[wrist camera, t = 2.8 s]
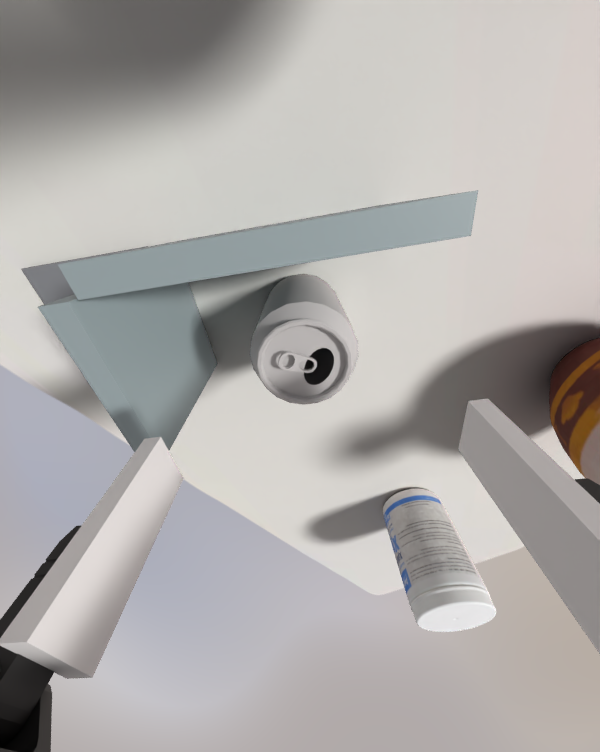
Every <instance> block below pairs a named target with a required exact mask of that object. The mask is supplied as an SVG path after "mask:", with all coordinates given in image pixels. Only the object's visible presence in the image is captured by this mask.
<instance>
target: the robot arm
mask: <svg viewBox="0 0 600 752" xmlns="http://www.w3.org/2000/svg"><path fill="white" fill-rule="evenodd" d="M458 450H459V452H460V453H461V454H462V456H463V457H464V459H465V460H466V462H467V463H468V465H469V466H470V467H471V469H472V470H473V472H474V473H475V475H476V476H477V478H478V479H479V480H480V482H481V483H482V485H483V486H484V488H485V489H486V491H487V492H488V493H489V495H490V496H491V498H492V499H493V501H494V502H495V504H496V505H497V506H498V508H499V509H500V511H501V512H502V514H503V515H504V517H505V518H506V519H507V521H508V522H509V524H510V525H511V527H512V528H513V529H514V531H515V532H516V534H517V535H518V537H519V538H520V540H521V541H522V542H523V544H524V545H525V547H526V548H527V550H528V551H529V553H530V554H531V555H532V557H533V558H534V560H535V561H536V563H537V564H538V566H539V567H540V568H541V570H542V571H543V573H544V574H545V576H546V577H547V578H548V580H549V581H550V583H551V584H552V586H553V587H554V589H555V590H556V592H557V593H558V594H559V596H560V597H561V599H562V600H563V602H564V603H565V604H566V606H567V607H568V609H569V610H570V612H571V613H572V615H573V616H574V617H575V619H576V620H577V622H578V623H579V624H580V626H581V627H582V629H583V631H584V632H585V633H586V635H587V636H588V638H589V639H590V641H591V642H592V644H593V645H594V646H595V648H596V649H597V651H598V652H599V654H600V485H599V484H597V483H595V482H594V481H592V480H590V479H588V478H586V479H575V480H574V479H573V478H572V477H571V476H570V475H569V474H568V473H567V472H565V471H564V470H563V469H562V468H561V467H560V466H559V465H558V464H557V463H556V462H555V461H554V460H553V459H552V458H551V457H550V456H548V455H547V454H546V453H545V452H544V451H543V450H542V449H541V448H540V447H539V446H538V445H537V444H536V443H535V442H534V441H533V440H531V439H530V438H529V437H528V436H527V435H526V434H525V433H524V432H523V431H522V430H521V429H520V428H519V427H518V426H517V425H516V424H514V423H513V422H512V421H511V420H510V419H509V418H508V417H507V416H506V415H505V414H504V413H503V412H502V411H501V410H500V409H499V408H497V407H496V406H495V405H494V404H493V403H492V402H491V401H490V400H489V399H480V400H471V401H468V404H467V409H466V414H465V419H464V424H463V429H462V434H461V438H460V443H459V448H458ZM183 479H184V478H183V476H182V474H181V472H180V470H179V468H178V467H177V465H176V463H175V461H174V459H173V458H172V456H171V454H170V452H169V450H168V449H167V447H166V445H165V443H164V441H163V440H162V438H161V437H154V438H146V439H144V440H143V442H142V443H141V444H140V446H139V447H138V449H137V450H136V451H135V453H134V454H133V456H132V457H131V458H130V460H129V461H128V462H127V464H126V465H125V467H124V468H123V469H122V471H121V472H120V473H119V475H118V476H117V478H116V479H115V480H114V482H113V483H112V485H111V486H110V487H109V489H108V490H107V491H106V493H105V494H104V496H103V497H102V498H101V500H100V501H99V502H98V504H97V505H96V507H95V508H94V509H93V511H92V512H91V513H90V515H89V516H88V518H87V519H86V520H85V522H84V523H83V525H82V526H76V527H75V528H74V529H73V530H72V531H70V533H68V534H67V535H66V536H65V537H64V538H63V539H62V540H61V541H60V542H59V543H58V545H57V546H56V547H55V548H54V550H53V551H52V552H51V554H50V555H49V556H48V558H47V559H46V562H45V563H43V564H42V565H41V567H40V568H39V570H38V571H37V572H36V573H35V577H34V578H33V579H31V580H30V581H29V583H28V584H27V585H26V587H25V588H24V589H23V591H22V592H21V593H20V595H19V596H18V597H17V599H16V600H15V601H14V602H13V604H12V605H11V606H10V608H9V609H8V610H7V612H6V613H5V614H4V616H3V617H2V618H1V620H0V752H50V751H51V749H50V748H51V711H52V710H51V709H52V692H51V687H50V685H49V684H48V682H49V681H50V678H51V677H52V675H53V673H54V672H55V673H57V674H59V675H61V676H63V677H65V678H67V679H68V678H89V677H90V678H91V677H93V675H94V673H95V670H96V668H97V666H98V664H99V662H100V660H101V658H102V655H103V653H104V651H105V649H106V647H107V644H108V642H109V640H110V638H111V636H112V634H113V631H114V629H115V627H116V625H117V622H118V620H119V618H120V616H121V614H122V612H123V609H124V607H125V605H126V603H127V601H128V598H129V596H130V594H131V592H132V590H133V588H134V586H135V583H136V581H137V579H138V577H139V575H140V572H141V570H142V568H143V566H144V564H145V561H146V559H147V557H148V555H149V553H150V551H151V548H152V546H153V544H154V542H155V540H156V537H157V535H158V533H159V531H160V529H161V527H162V525H163V522H164V520H165V518H166V516H167V514H168V511H169V509H170V507H171V505H172V503H173V500H174V498H175V496H176V494H177V492H178V490H179V487H180V485H181V483H182V481H183Z"/></svg>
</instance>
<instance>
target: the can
mask: <svg viewBox="0 0 600 752" xmlns="http://www.w3.org/2000/svg"><path fill="white" fill-rule="evenodd" d="M250 357H251V361H252V364H253V368H254V370H255V372H256V374H257V375H258V377H259V378H260V380H261V381H262V382H263V384H264V385H265V387H266V388H267V389H268V390H269V391H270V392H271V393H273V394H274V395H275V396H276V397H278V398H280V399H283V400H285V401H287V402H290V403H297V404H312V403H318V402H321V401H323V400H326V399H329V398H331V397H332V396H333V395H335V394H336V393H337V392H339V391H340V390H341V389H342V388H343V386H344V385H345V384H346V382H347V381H348V380H349V377H350V375H351V374H352V372H353V371H354V368H355V365H356V362H357V359H358V340H357V338H356V335H355V333H354V330H353V328H352V325H351V323H350V321H349V319H348V317H347V315H346V313H345V311H344V309H343V307H342V305H341V303H340V301H339V299H338V297H337V295H336V293H335V291H334V290H333V289H332V288H331V286H330V285H329V284H328V283H327V282H325V281H324V280H322V279H320V278H319V277H317V276H313V275H308V274H299V275H292V276H289V277H287V278H285V279H283V280H281V281H280V282H279V283H278V284H277V285H276V286H275V287H274V288H273V289H272V290H271V292H270V294H269V296H268V298H267V301H266V303H265V306H264V308H263V311H262V313H261V316H260V318H259V321H258V324H257V326H256V329H255V331H254V334H253V336H252V339H251V349H250Z"/></svg>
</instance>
